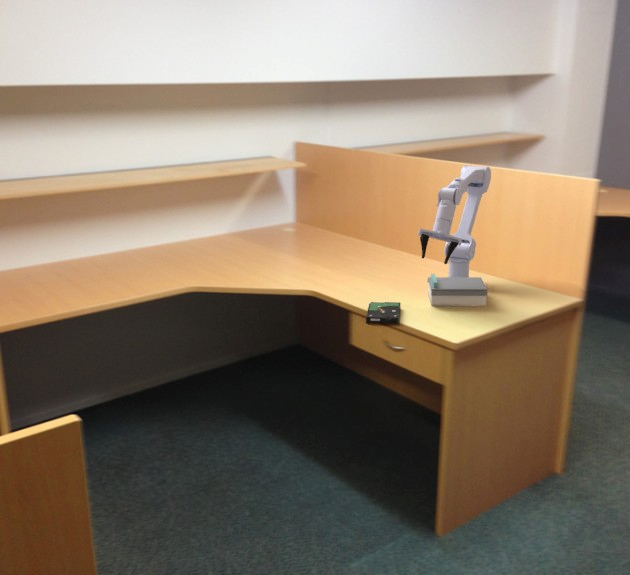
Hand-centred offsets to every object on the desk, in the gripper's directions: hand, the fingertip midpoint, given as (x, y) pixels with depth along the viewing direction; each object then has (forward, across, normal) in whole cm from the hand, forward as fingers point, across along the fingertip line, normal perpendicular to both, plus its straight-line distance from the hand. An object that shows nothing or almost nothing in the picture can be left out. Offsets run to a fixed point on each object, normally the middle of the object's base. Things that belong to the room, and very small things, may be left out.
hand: (434, 260), depth 229 cm
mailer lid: (+6, +10, +7) cm, 14 cm away
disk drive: (+23, -12, -4) cm, 26 cm away
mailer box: (+9, +11, +8) cm, 17 cm away
